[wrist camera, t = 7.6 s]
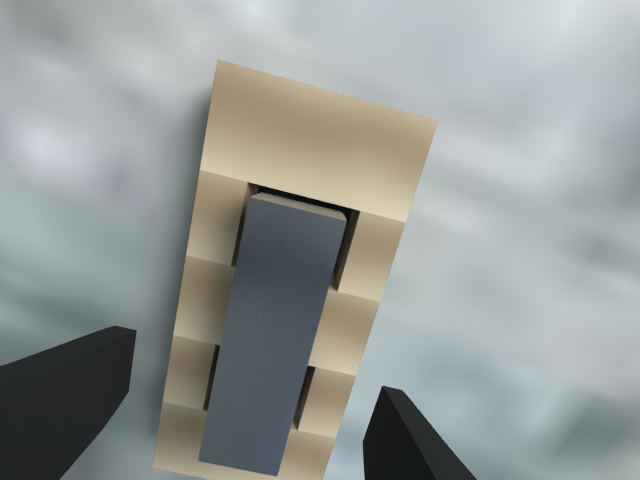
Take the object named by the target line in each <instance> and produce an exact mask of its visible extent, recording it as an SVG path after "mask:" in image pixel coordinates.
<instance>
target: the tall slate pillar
mask: <svg viewBox="0 0 640 480" xmlns="http://www.w3.org/2000/svg"><path fill="white" fill-rule="evenodd" d="M346 223H347V220H346V218H345V216H344V214H343V212H340V211H336V210H332V209H328V208H324V207H320V206H316V205H312V204H308V203H304V202H300V201H296V200H292V199H288V198H284V197H280V196H276V195H272V194H268V193H264V192H261V193H258V194H256V195H253V196H251V197H249V202H248V207H247V212H246V217H245V222H244V227H243V232H242V237H241V243H240V248H239V253H238V258H237V263H236V268H235V273H234V278H233V284H232V289H231V294H230V299H229V304H228V309H227V314H226V319H225V324H224V330H223V335H222V340H221V345H220V350H219V355H218V360H217V365H216V371H215V376H214V381H213V386H212V391H211V396H210V401H209V406H208V411H207V417H206V422H205V427H204V432H203V437H202V442H201V447H200V452H199V458H198V461H200V462H205V463H210V464H215V465H220V466H225V467H230V468H235V469H240V470H245V471H250V472H255V473H260V474H266V475H271V476H276V477H277V476H278V472H279V468H280V465H281V461H282V457H283V454H284V450H285V446H286V443H287V439H288V435H289V432H290V428H291V424H292V421H293V417H294V413H295V410H296V406H297V402H298V399H299V395H300V391H301V388H302V384H303V380H304V377H305V373H306V369H307V366H308V362H309V358H310V355H311V351H312V347H313V344H314V340H315V336H316V333H317V329H318V325H319V322H320V318H321V315H322V311H323V307H324V304H325V300H326V296H327V293H328V289H329V285H330V282H331V278H332V274H333V271H334V267H335V263H336V260H337V256H338V252H339V249H340V245H341V241H342V238H343V234H344V230H345V227H346Z"/></svg>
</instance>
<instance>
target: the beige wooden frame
mask: <svg viewBox="0 0 640 480" xmlns="http://www.w3.org/2000/svg"><path fill="white" fill-rule="evenodd" d="M437 124H438V120H434V119H430V118H427V117H423V116H420V115H416V114H412V113H409V112H405V111H402V110H398V109H394V108H391V107H387V106H384V105H380V104H376V103H373V102H369V101H366V100H362V99H358V98H355V97H351V96H347V95H344V94H340V93H337V92H333V91H329V90H326V89H322V88H319V87H315V86H311V85H308V84H304V83H301V82H297V81H293V80H290V79H286V78H283V77H279V76H275V75H272V74H268V73H265V72H261V71H257V70H254V69H250V68H247V67H243V66H239V65H236V64H232V63H228V62H225V61H221V60H218V59H217V66H216V72H215V78H214V84H213V90H212V97H211V103H210V109H209V115H208V122H207V128H206V134H205V140H204V146H203V153H202V159H201V165H200V171H199V178H198V184H197V190H196V196H195V202H194V209H193V215H192V221H191V227H190V234H189V240H188V246H187V252H186V258H185V265H184V271H183V277H182V283H181V290H180V296H179V302H178V308H177V314H176V321H175V327H174V333H173V339H172V346H171V352H170V358H169V364H168V370H167V377H166V383H165V389H164V395H163V402H162V408H161V414H160V420H159V426H158V433H157V439H156V445H155V451H154V458H153V464H152V468H155V469H160V470H165V471H170V472H175V473H180V474H185V475H190V476H195V477H200V478H205V479H210V480H322V479H323V476H324V473H325V470H326V467H327V464H328V461H329V458H330V455H331V452H332V448H333V445H334V442H335V439H336V436H337V433H338V430H339V427H340V424H341V421H342V418H343V414H344V411H345V408H346V405H347V402H348V399H349V396H350V393H351V390H352V387H353V384H354V380H355V377H356V374H357V371H358V368H359V365H360V362H361V359H362V356H363V353H364V350H365V346H366V343H367V340H368V337H369V334H370V331H371V328H372V325H373V322H374V319H375V316H376V312H377V309H378V306H379V303H380V300H381V297H382V294H383V291H384V288H385V285H386V282H387V278H388V275H389V272H390V269H391V266H392V263H393V260H394V257H395V254H396V251H397V248H398V244H399V241H400V238H401V235H402V232H403V229H404V226H405V223H406V220H407V217H408V213H409V210H410V207H411V204H412V201H413V198H414V195H415V192H416V189H417V186H418V183H419V179H420V176H421V173H422V170H423V167H424V164H425V161H426V158H427V155H428V152H429V149H430V145H431V142H432V139H433V136H434V133H435V130H436V127H437ZM259 185H262V186H265V187H269V188H273V189H277V190H281V191H285V192H289V193H293V194H297V195H301V196H305V197H308V198H312V199H316V200H320V201H324V202H328V203H332V204H336V205H340V206H344V207H347V208H351V209H352V211H351V215H350V218H349V222H348V226H347V229H346V233H345V236H344V240H343V243H342V247H341V251H340V254H339V258H338V261H337V265H336V268H335V271H333V274H332V278H331V282H330V285H329V289H328V293H327V296H326V300H325V304H324V307H323V311H322V315H321V318H320V322H319V325H318V329H317V333H316V336H315V340H314V344H313V347H312V351H311V355H310V358H309V362H308V368H307V372H306V376H305V379H304V383H303V386H302V390H301V391H300V395H299V399H298V402H297V406H296V410H295V413H294V417H293V421H292V424H291V428H290V432H289V435H288V439H287V443H286V446H285V450H284V454H283V457H282V461H281V465H280V468H279V472H278V476H277V477H276V476H271V475H266V474H260V473H255V472H250V471H245V470H240V469H235V468H230V467H225V466H220V465H215V464H210V463H205V462H200V461H198V458H199V452H200V447H201V442H202V437H203V432H204V427H205V422H206V417H207V411H208V406H209V401H210V396H211V391H212V386H213V381H214V376H215V371H216V365H217V360H218V355H219V350H220V345H221V340H222V335H223V330H224V324H225V319H226V314H227V309H228V304H229V299H230V294H231V289H232V284H233V278H234V273H235V268H236V263H237V258H238V253H239V248H240V243H241V237H242V232H243V227H244V222H245V217H246V212H247V207H248V202H249V197H251V196H253V195H256V194H257V193H258V189H259Z"/></svg>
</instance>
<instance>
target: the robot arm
mask: <svg viewBox="0 0 640 480" xmlns="http://www.w3.org/2000/svg"><path fill="white" fill-rule="evenodd" d="M136 331H137V330H132V329H128V328H123V327H119V326H112V327H109V328H105V329H103V330H100V331H97V332H94V333H91V334H88V335H86V336H83V337H80V338H78V339H75V340H72V341H70V342H67V343H64V344H61V345H59V346H56V347H53V348H51V349H48V350H45V351H42V352H40V353H37V354H34V355H31V356H29V357H26V358H23V359H21V360H18V361H15V362H12V363H9V364H6V365H3V366H0V480H59V479H60V478H61V477H62V476H63V475H64V474H65V473H66V471H67V470H68V469H69V468H70V467H71V466H72V464H73V463H74V462H75V461H76V460H77V459H78V457H79V456H80V455H81V454H82V453H83V452H84V450H85V449H86V448H87V447H88V446H89V445H90V443H91V442H92V441H93V440H94V439H95V438H96V436H97V435H98V434H99V433H100V432H101V430H102V429H103V428H104V426H105V425H106V424H107V422H108V421H109V419H110V418H111V417H112V415H113V414H114V412H115V411H116V410H117V408H118V407H119V405H120V404H121V402H122V401H123V399H124V398H125V396H126V395H127V393H128V391H129V384H130V376H131V369H132V361H133V354H134V346H135V338H136ZM363 457H364V474H365V480H477V479H476V478H475V477H474V476H473V475H472V474H471V472H470V471H469V470H468V469H467V468H466V467H465V465H464V464H463V463H462V462H461V461H460V460H459V458H458V457H457V456H456V455H455V454H454V452H453V451H452V450H451V449H450V448H449V446H448V445H447V444H446V443H445V442H444V440H443V439H442V438H441V437H440V436H439V434H438V433H437V432H436V431H435V429H434V428H433V427H432V426H431V424H430V423H429V422H428V421H427V419H426V418H425V417H424V416H423V415H422V413H421V412H420V411H419V410H418V408H417V407H416V406H415V405H414V403H413V402H412V401H411V400H410V399H409V397H408V396H407V395H406V394H405V393H404V392H403V391H402V390H399V389H395V388H390V387H386V386H382V388H381V391H380V394H379V397H378V399H377V402H376V405H375V408H374V411H373V414H372V417H371V420H370V423H369V425H368V428H367V431H366V434H365V437H364V440H363Z"/></svg>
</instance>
